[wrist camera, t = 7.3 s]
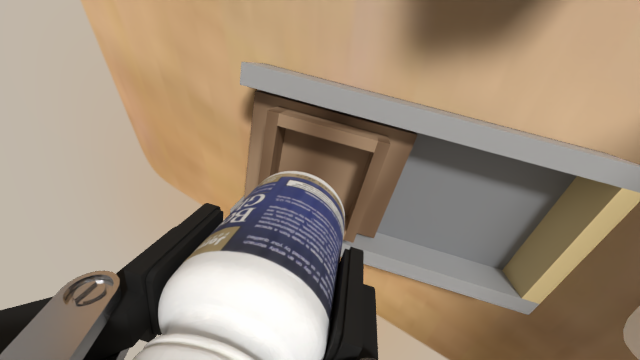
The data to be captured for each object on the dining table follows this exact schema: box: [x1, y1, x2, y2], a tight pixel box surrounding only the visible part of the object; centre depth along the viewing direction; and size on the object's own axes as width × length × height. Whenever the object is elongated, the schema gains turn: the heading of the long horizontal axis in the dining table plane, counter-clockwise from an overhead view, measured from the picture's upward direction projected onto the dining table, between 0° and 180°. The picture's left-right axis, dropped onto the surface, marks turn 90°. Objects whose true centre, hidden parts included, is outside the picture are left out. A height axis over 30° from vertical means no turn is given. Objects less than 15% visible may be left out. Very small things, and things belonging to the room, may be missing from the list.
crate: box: [244, 90, 417, 243], centre depth 19 cm, size 12×9×4 cm
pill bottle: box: [133, 171, 345, 360], centre depth 9 cm, size 5×5×10 cm
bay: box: [230, 62, 640, 315], centre depth 19 cm, size 26×13×4 cm, turn 77°
